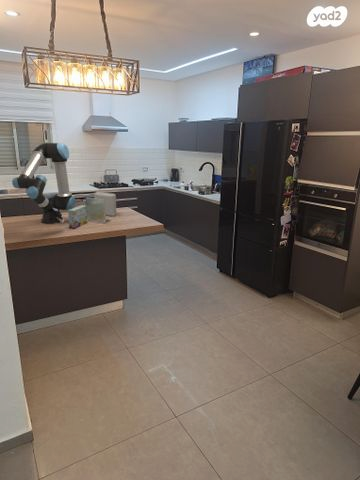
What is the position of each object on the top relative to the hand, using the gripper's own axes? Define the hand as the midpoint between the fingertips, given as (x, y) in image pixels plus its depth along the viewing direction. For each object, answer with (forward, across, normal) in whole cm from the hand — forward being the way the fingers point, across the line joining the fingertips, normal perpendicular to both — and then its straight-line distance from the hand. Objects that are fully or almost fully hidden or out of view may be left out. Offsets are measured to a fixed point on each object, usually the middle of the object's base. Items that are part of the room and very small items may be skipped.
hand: (63, 221), depth 251 cm
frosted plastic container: (+32, +5, +21) cm, 38 cm away
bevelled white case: (+47, -3, +36) cm, 60 cm away
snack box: (+18, 0, +6) cm, 19 cm away
